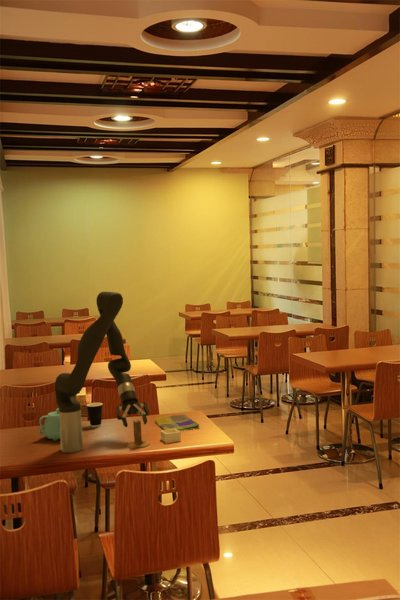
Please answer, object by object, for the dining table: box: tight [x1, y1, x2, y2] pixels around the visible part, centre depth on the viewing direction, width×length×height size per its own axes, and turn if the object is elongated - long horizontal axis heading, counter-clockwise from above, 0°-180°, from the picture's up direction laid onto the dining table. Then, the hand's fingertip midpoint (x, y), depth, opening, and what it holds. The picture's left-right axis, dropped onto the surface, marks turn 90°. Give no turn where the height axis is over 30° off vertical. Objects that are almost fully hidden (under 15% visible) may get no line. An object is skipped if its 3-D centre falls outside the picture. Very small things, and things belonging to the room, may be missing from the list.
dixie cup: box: [86, 402, 103, 428], centre depth 311 cm, size 8×8×11 cm
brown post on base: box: [126, 419, 150, 450], centre depth 272 cm, size 10×10×11 cm
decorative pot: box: [38, 407, 60, 442], centre depth 293 cm, size 16×16×14 cm
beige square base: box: [160, 429, 182, 444], centre depth 278 cm, size 7×7×4 cm
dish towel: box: [154, 413, 200, 432], centre depth 305 cm, size 18×24×3 cm
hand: (136, 424), depth 274 cm, fingers open, 8 cm apart
